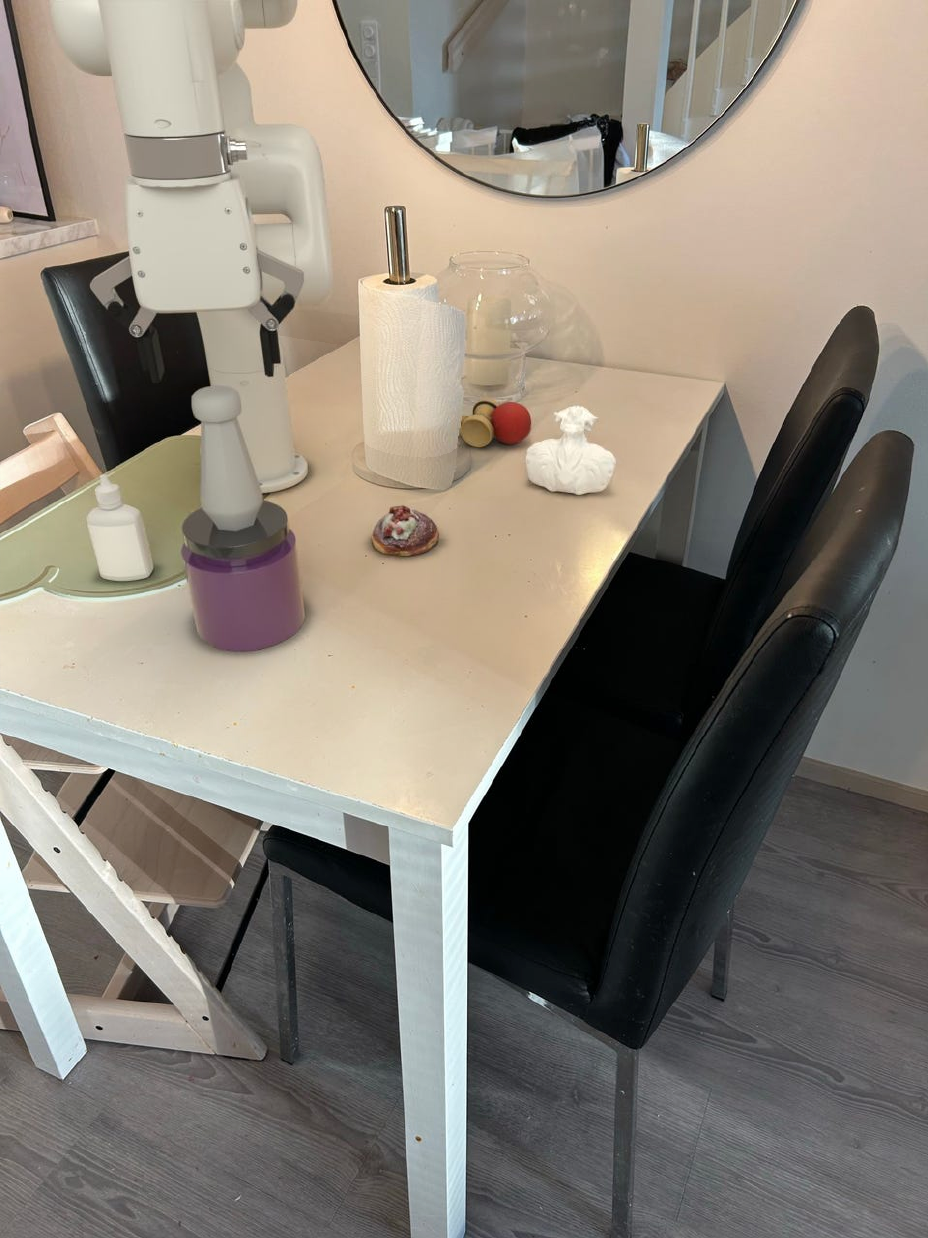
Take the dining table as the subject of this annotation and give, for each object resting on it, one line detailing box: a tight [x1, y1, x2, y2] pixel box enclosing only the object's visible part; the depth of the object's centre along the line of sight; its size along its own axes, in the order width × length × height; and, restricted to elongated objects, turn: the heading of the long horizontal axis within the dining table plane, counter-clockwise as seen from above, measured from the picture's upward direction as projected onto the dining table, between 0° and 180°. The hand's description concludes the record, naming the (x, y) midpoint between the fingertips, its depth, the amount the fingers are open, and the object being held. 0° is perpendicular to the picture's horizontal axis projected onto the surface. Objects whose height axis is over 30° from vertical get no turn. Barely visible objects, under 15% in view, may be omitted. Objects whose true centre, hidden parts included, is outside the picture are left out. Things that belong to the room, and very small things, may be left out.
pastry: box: [371, 504, 440, 557], centre depth 105 cm, size 8×8×5 cm
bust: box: [524, 404, 617, 496], centre depth 117 cm, size 12×8×11 cm
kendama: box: [459, 397, 532, 448], centre depth 131 cm, size 8×6×18 cm
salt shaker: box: [191, 385, 264, 531], centre depth 83 cm, size 6×6×13 cm
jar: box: [180, 499, 306, 652], centre depth 89 cm, size 11×11×12 cm
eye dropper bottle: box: [85, 474, 154, 582], centre depth 97 cm, size 4×6×12 cm
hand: (214, 374), depth 79 cm, fingers open, 9 cm apart
